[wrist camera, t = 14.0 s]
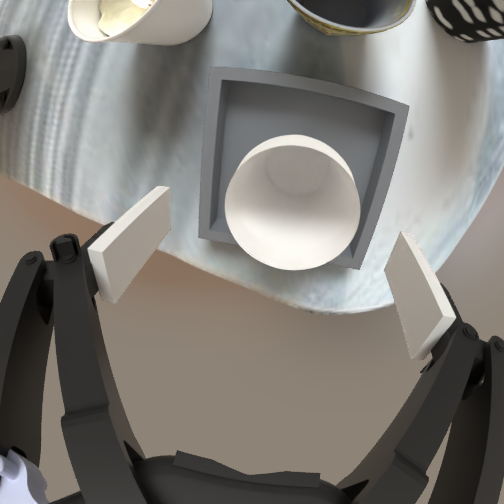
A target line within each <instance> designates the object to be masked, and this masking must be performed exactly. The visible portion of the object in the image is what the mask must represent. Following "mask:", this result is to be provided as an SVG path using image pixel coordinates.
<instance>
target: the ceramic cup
mask: <svg viewBox="0 0 504 504" xmlns="http://www.w3.org/2000/svg"><path fill="white" fill-rule="evenodd" d="M287 1H288V2H289V3H290V4H291V6H292V7H293V8H294V9H295V10H296V11H297V12H298V13H299V14H300V15H301V16H302V18H303V19H304V20H305V21H306V22H307V23H309V24H310V25H312V26H313V27H315V28H316V29H317V30H319V31H320V32H322V33H323V34H325V35H326V36H356V35H364V34H373V33H378V32H383V31H385V30H388V29H391V28H393V27H396V26H398V25H399V24H401V23H402V22H404V21H405V20H406V19H407V18H408V17H409V16H410V14H411V13H412V11H413V9H414V6H415V3H416V0H287Z"/></svg>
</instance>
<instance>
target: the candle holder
mask: <svg viewBox="0 0 504 504" xmlns="http://www.w3.org/2000/svg"><path fill="white" fill-rule="evenodd" d="M212 10H213V4H212V0H69V4H68V11H67V16H68V23H69V26H70V29H71V30H72V32H73V33H74V34H75V36H77V37H78V38H79V39H81V40H83V41H86V42H91V43H101V42H125V43H141V44H153V45H165V46H171V45H178V44H181V43H184V42H187V41H189V40H191V39H192V38H194V37H195V36H197V35H198V34H199V33H200V32H201V31H202V30H203V29H204V28H205V27H206V25H207V24H208V22H209V20H210V18H211V15H212Z"/></svg>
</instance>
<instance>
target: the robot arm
mask: <svg viewBox="0 0 504 504" xmlns="http://www.w3.org/2000/svg"><path fill="white" fill-rule="evenodd" d="M25 68H26V50H25V45H24V42H23V40H22V39H21V38H20V37H19V36H17V35H11V36H4V37H2V38H0V115H1V114H4V113H7V112H8V111H9V110H10V109H11V108H12V107H13V106H14V104H15V102H16V100H17V98H18V96H19V94H20V91H21V88H22V84H23V80H24V75H25ZM170 230H171V223H170V187H163V186H157V187H156V188H154V189H153V190H152V191H151V192H150V193H148V194H147V195H146V196H145V197H144V198H142V199H141V200H140V201H139V202H138V203H136V204H135V205H134V206H133V207H132V208H131V209H130V210H128V211H127V212H126V213H125V214H124V215H123V216H122V217H120V218H119V219H118V220H117V221H116V222H111V223H109V224H107V225H105V226H103V227H102V228H101V229H100V230H99V231H98V232H97V233H95V234H94V235H93V236H92V237H91V238H90V239H89V240H88V241H87V242H86V243H85V244H84V245H83V246H82V247H81V248H80V245H79V241H78V237H77V236H76V235H74V234H64V235H61V236H58V237H57V238H55V239H54V240H53V241H52V242H51V244H50V249H51V252H52V255H53V259H54V261H45V260H44V257H43V254H42V252H40V251H33V252H29V253H27V254H26V255H24V256H23V257H22V258H21V260H20V261H19V263H18V265H17V267H16V269H15V271H14V274H13V276H12V278H11V280H10V282H9V284H8V286H7V288H6V291H5V293H4V296H3V298H2V300H1V303H0V504H415V503H416V501H417V500H418V498H419V497H420V495H421V494H422V492H423V491H424V489H425V488H426V486H427V483H428V481H429V477H428V476H427V475H426V471H427V469H428V467H429V465H430V463H431V462H432V460H433V458H434V456H435V454H436V453H437V451H438V449H439V447H440V445H441V443H442V441H443V439H444V437H445V435H446V433H447V431H448V428H449V426H450V423H451V422H452V425H451V429H450V434H449V438H448V443H447V446H446V451H445V454H444V458H443V461H442V465H441V468H440V471H439V474H438V477H437V480H436V483H435V486H434V489H433V492H432V494H431V497H430V499H429V502H428V504H497V503H498V499H499V495H500V491H501V487H502V482H503V477H504V341H503V340H502V339H501V338H499V337H498V336H492V337H491V338H490V340H489V341H488V342H485V341H482V340H480V339H479V336H478V333H477V331H476V330H475V329H474V328H473V327H472V326H471V325H469V324H468V323H464V322H463V321H462V319H461V317H460V315H459V312H458V310H457V308H456V306H455V305H454V302H453V300H452V299H451V296H450V294H449V292H448V290H447V289H446V288H445V287H444V286H443V285H442V283H439V281H438V279H437V277H436V275H435V273H434V272H433V270H432V268H431V266H430V264H429V263H428V261H427V259H426V257H425V255H424V254H423V252H422V250H421V249H420V247H419V245H418V244H417V242H416V240H415V239H414V237H413V235H412V234H410V233H406V232H402V231H400V234H399V236H398V239H397V241H396V243H395V246H394V248H393V251H392V253H391V255H390V258H389V260H388V262H387V264H386V267H385V269H384V271H385V274H386V277H387V280H388V283H389V286H390V289H391V292H392V295H393V298H394V301H395V304H396V308H397V311H398V314H399V317H400V321H401V324H402V328H403V331H404V335H405V339H406V342H407V346H408V350H409V354H410V358H411V359H420V360H424V359H425V357H426V356H427V355H428V354H429V353H430V351H431V353H432V357H433V358H432V359H431V360H430V362H429V363H428V364H427V365H426V366H425V367H424V368H423V370H422V371H421V372H420V373H423V374H422V375H421V377H420V379H419V381H418V382H417V384H416V386H415V388H414V389H413V391H412V393H411V394H410V396H409V397H408V399H407V401H406V402H405V404H404V405H403V407H402V408H401V410H400V411H399V413H398V414H397V416H396V417H395V419H394V420H393V422H392V423H391V424H390V426H389V427H388V429H387V430H386V431H385V433H384V434H383V435H382V437H381V438H380V439H379V441H378V442H377V443H376V445H375V446H374V447H373V448H372V450H371V451H370V452H369V453H368V455H367V456H366V457H365V458H364V459H363V460H362V462H361V463H360V464H359V465H358V466H357V468H356V469H355V470H354V471H353V472H352V473H351V474H349V475H348V476H347V477H345V478H344V479H343V480H342V481H340V482H339V483H338V484H337V485H336V486H335V485H333V484H331V483H329V482H326V481H324V480H321V479H320V473H305V472H290V471H285V472H276V473H268V474H256V475H247V474H243V473H241V472H239V471H236V470H234V469H232V468H229V467H227V466H225V465H223V464H221V463H218V462H216V461H214V460H212V459H208V458H203V457H199V456H196V455H192V454H188V453H184V452H181V451H178V450H177V452H176V456H172V455H167V456H156V457H151V458H147V459H146V458H145V455H144V453H143V451H142V449H141V447H140V445H139V444H138V442H137V440H136V438H135V436H134V434H133V432H132V429H131V427H130V424H129V422H128V419H127V416H126V414H125V411H124V408H123V405H122V402H121V399H120V396H119V394H118V390H117V387H116V384H115V380H114V377H113V374H112V370H111V367H110V363H109V359H108V356H107V352H106V348H105V344H104V339H103V335H102V331H101V327H100V321H99V316H98V311H97V306H96V301H95V298H94V295H95V294H96V293H97V291H98V290H99V294H100V297H101V300H103V301H106V302H109V303H112V304H116V302H117V301H118V300H119V298H120V297H121V295H122V294H123V293H124V291H125V290H126V288H127V287H128V285H129V284H130V283H131V281H132V280H133V279H134V277H135V276H136V274H137V273H138V272H139V270H140V269H141V268H142V266H143V265H144V264H145V262H146V261H147V260H148V258H149V257H150V256H151V254H152V253H153V252H154V250H155V249H156V248H157V247H158V245H159V244H160V243H161V241H162V240H163V239H164V238H165V236H166V235H167V234H168V233H169V231H170ZM53 326H54V330H55V344H56V355H57V364H58V372H59V379H60V385H61V392H62V397H63V402H64V407H65V415H64V416H62V417H61V427H62V432H63V436H64V440H65V443H66V447H67V451H68V454H69V458H70V461H71V464H72V467H73V470H74V473H75V476H76V479H77V481H78V484H79V487H80V490H81V491H79V492H76V493H74V494H71V495H69V496H67V497H64V498H61V499H59V500H57V501H54V502H51V503H49V501H48V500H47V498H46V495H45V492H44V491H45V490H46V489H47V482H46V480H45V478H44V477H43V476H42V473H41V472H40V470H39V469H38V468H39V462H40V453H41V420H42V403H43V391H44V381H45V372H46V366H47V359H48V353H49V347H50V341H51V336H52V331H53ZM483 380H484V381H483ZM482 381H483V383H482Z"/></svg>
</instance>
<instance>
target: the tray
mask: <svg viewBox="0 0 504 504" xmlns="http://www.w3.org/2000/svg"><path fill="white" fill-rule="evenodd" d="M408 111H409V106H408V105H406V104H403V103H400V102H398V101H395V100H392V99H389V98H386V97H383V96H380V95H377V94H373V93H370V92H367V91H363V90H360V89H356V88H352V87H349V86H345V85H341V84H337V83H332V82H328V81H323V80H319V79H314V78H309V77H303V76H298V75H292V74H285V73H278V72H271V71H263V70H253V69H242V68H228V67H210V73H209V82H208V91H207V101H206V112H205V123H204V136H203V149H202V165H201V182H200V204H199V235H198V238H202V239H207V240H212V241H217V242H222V243H227V244H232V245H238V246H240V245H239V244H238V243H237V241H236V240H235V238H234V237H233V235H232V233H231V231H230V229H229V226H228V224H227V220H226V215H225V197H226V192H227V188H228V186H229V183H230V181H231V179H232V177H233V175H234V174H235V172H236V170H237V168H238V166H239V165H240V163H241V161H242V160H243V159H244V157H245V156H246V155H247V154H248V153H249V152H250V151H251V150H252V149H254V148H255V147H256V146H258V145H259V144H261V143H263V142H265V141H267V140H269V139H272V138H275V137H279V136H284V135H304V136H308V137H311V138H314V139H317V140H319V141H321V142H323V143H325V144H327V145H328V146H330V147H331V148H332V149H334V150H335V151H336V152H337V153H338V154H339V155H340V156H341V157H342V158H343V160H344V161H345V162H346V164H347V165H348V167H349V169H350V171H351V173H352V175H353V178H354V182H355V186H356V189H357V191H358V195H359V199H360V220H359V225H358V228H357V231H356V233H355V235H354V237H353V239H352V241H351V242H350V243H349V245H348V246H347V247H346V248H345V250H344V251H343V252H341V253H340V254H339V255H338V256H337V257H335V258H334V259H332V260H331V261H329V262H327V263H328V264H333V265H338V266H343V267H348V268H353V269H358V270H360V267H361V265H362V262H363V260H364V257H365V254H366V252H367V249H368V247H369V244H370V241H371V239H372V236H373V233H374V230H375V228H376V225H377V222H378V219H379V216H380V213H381V210H382V207H383V204H384V201H385V198H386V195H387V191H388V188H389V185H390V182H391V178H392V175H393V171H394V168H395V164H396V161H397V157H398V153H399V149H400V145H401V141H402V137H403V133H404V129H405V125H406V120H407V116H408Z"/></svg>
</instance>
